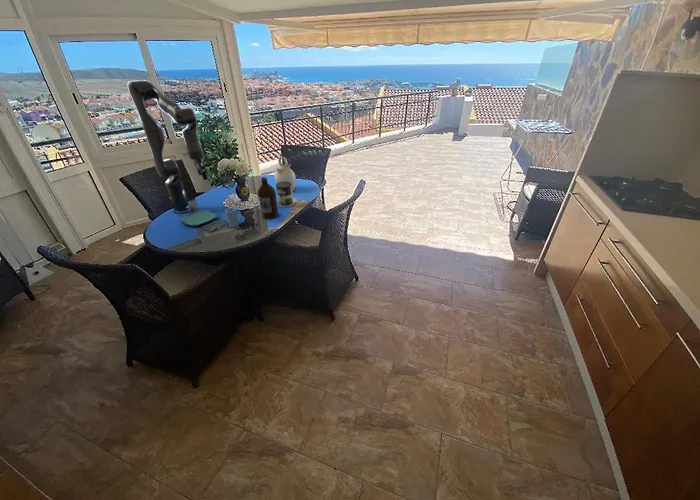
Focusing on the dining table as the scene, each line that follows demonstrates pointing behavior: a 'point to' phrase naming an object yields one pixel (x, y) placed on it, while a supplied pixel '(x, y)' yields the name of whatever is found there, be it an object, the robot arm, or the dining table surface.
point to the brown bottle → (267, 200)
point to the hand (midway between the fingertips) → (203, 177)
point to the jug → (285, 173)
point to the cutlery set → (202, 219)
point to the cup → (232, 217)
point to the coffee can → (285, 194)
